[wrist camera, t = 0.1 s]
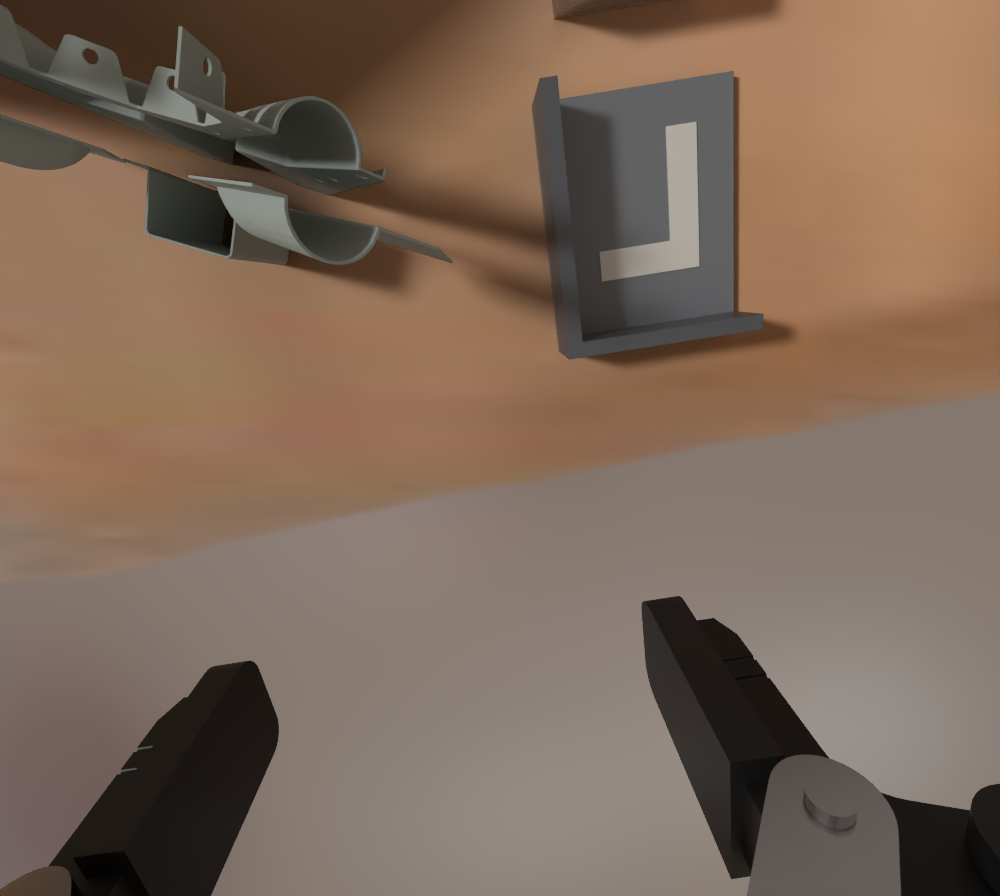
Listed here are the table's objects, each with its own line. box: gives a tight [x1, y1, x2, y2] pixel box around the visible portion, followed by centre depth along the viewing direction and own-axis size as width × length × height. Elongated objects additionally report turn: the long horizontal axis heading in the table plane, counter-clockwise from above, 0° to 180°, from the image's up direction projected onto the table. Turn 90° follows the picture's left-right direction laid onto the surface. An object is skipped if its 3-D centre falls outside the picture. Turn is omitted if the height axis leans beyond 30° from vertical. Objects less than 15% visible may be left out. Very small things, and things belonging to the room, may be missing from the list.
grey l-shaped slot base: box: [532, 71, 763, 359], centre depth 32 cm, size 16×13×5 cm
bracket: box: [0, 4, 453, 265], centre depth 24 cm, size 28×7×20 cm, turn 74°
